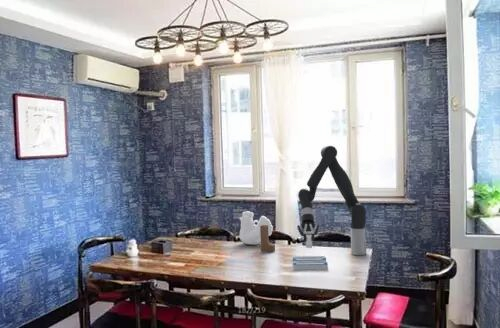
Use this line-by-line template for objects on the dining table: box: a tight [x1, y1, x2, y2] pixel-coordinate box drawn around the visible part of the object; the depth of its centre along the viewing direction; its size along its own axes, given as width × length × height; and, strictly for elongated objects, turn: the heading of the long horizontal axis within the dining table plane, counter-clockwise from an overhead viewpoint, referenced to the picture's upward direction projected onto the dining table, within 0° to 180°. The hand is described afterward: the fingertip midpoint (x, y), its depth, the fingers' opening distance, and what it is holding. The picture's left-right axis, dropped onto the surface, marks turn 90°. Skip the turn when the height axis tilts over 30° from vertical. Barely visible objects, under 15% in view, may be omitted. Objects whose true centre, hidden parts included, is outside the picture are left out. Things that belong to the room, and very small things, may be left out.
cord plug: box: [305, 231, 313, 249], centre depth 247 cm, size 4×4×9 cm
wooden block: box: [260, 225, 276, 253], centre depth 287 cm, size 9×4×18 cm, turn 66°
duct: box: [292, 255, 329, 271], centre depth 253 cm, size 20×20×4 cm
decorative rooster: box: [238, 210, 274, 246], centre depth 308 cm, size 25×16×25 cm, turn 67°
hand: (309, 240), depth 245 cm, fingers closed on cord plug, 3 cm apart
